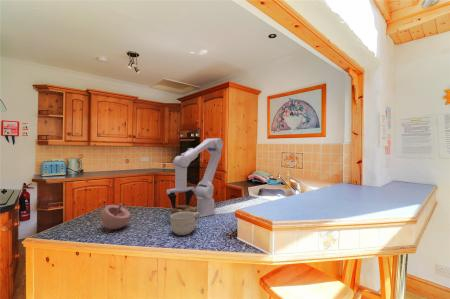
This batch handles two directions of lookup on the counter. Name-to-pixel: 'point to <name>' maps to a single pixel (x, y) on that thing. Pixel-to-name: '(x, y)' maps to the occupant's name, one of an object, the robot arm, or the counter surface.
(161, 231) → the counter surface
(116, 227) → the mortar and pestle
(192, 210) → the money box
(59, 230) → the counter surface
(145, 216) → the counter surface
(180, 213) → the teacup
